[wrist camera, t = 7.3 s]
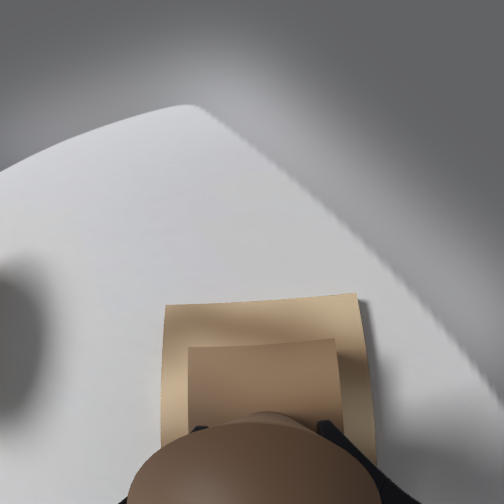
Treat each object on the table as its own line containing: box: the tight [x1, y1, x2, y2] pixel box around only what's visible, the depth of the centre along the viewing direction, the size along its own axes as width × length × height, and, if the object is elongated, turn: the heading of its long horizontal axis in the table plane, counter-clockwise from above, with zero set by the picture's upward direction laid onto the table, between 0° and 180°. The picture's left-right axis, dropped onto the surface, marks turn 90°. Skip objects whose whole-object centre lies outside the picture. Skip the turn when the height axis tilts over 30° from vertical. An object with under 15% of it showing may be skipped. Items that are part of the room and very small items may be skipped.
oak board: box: [161, 293, 377, 467], centre depth 13 cm, size 20×12×1 cm, turn 2°
